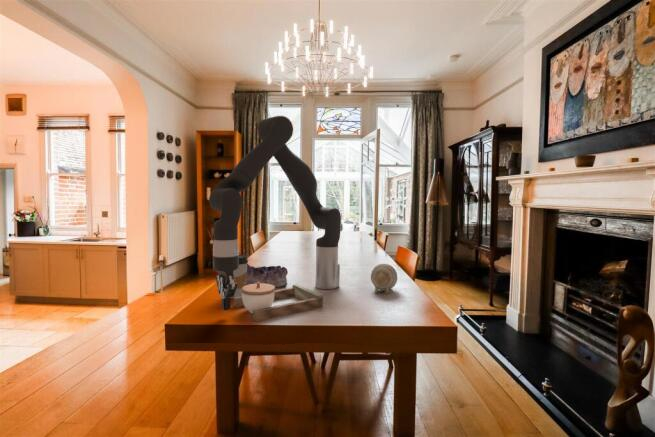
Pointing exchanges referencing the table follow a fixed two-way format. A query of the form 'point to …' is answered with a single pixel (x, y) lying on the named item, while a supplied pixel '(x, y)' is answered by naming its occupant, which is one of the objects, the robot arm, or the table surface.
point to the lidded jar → (258, 296)
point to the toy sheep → (383, 277)
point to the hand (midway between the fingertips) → (226, 309)
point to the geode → (267, 275)
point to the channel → (308, 302)
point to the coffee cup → (240, 275)
